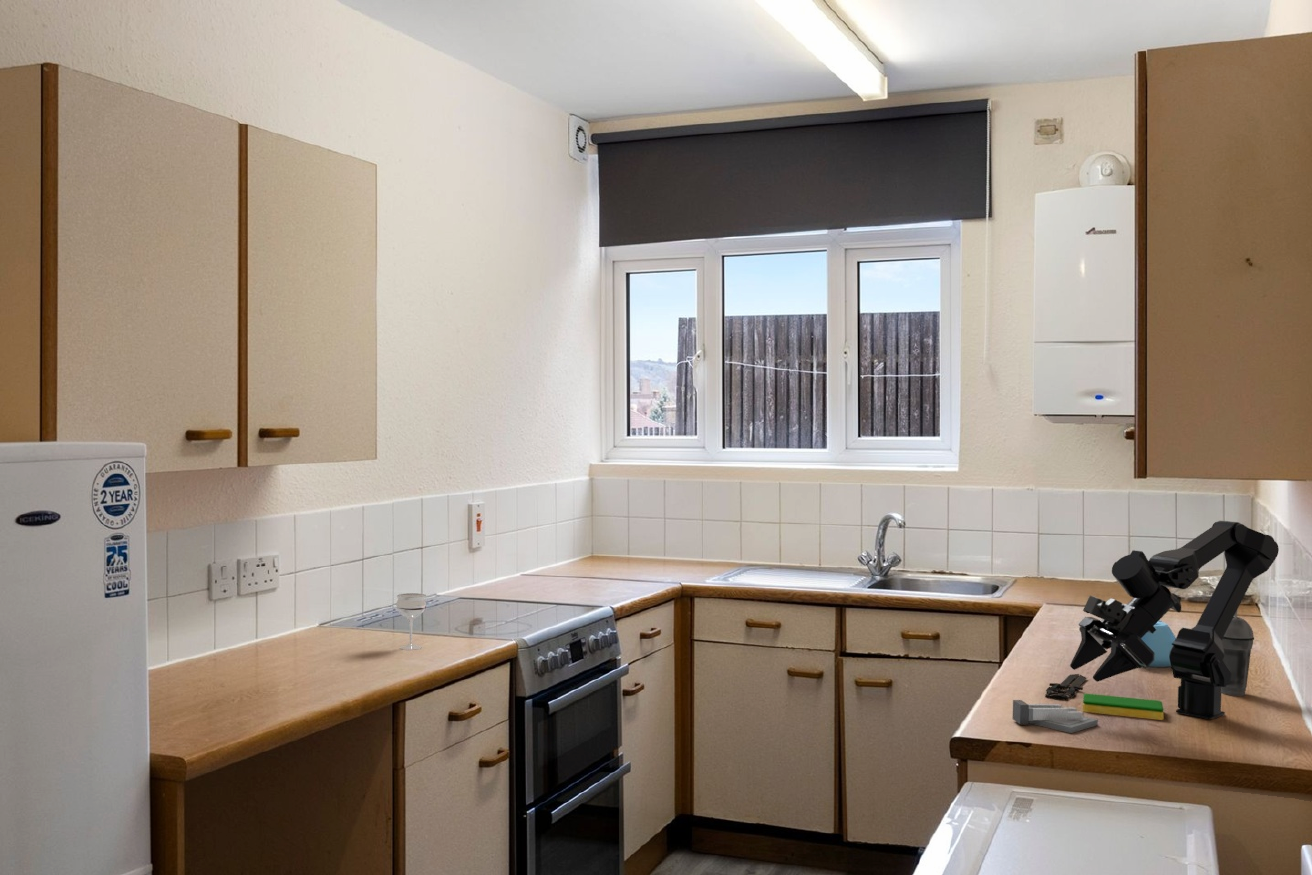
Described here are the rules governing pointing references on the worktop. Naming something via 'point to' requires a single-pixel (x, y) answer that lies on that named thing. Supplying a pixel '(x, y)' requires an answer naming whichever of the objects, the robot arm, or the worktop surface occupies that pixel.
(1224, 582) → the robot arm
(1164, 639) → the teapot
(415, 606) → the wineglass
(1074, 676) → the dark piece
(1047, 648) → the worktop surface
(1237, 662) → the beverage cup
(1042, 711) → the grey stepped bar
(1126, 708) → the dish sponge
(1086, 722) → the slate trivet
